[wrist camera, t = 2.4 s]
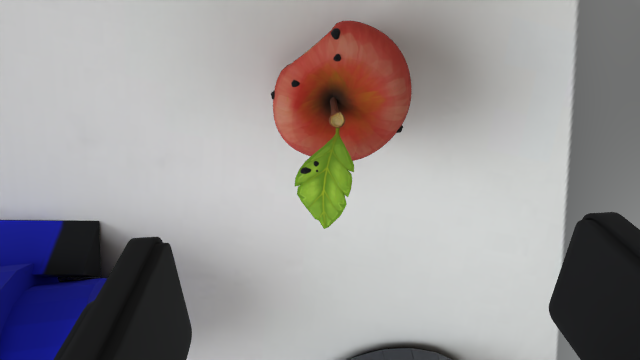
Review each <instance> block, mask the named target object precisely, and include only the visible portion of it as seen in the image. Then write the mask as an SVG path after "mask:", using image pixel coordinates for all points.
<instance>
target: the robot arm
mask: <svg viewBox="0 0 640 360" xmlns="http://www.w3.org/2000/svg"><path fill="white" fill-rule="evenodd" d="M549 312H550V315H551V318H552V320H553V321H554V323H555V324H556V326H557V327H558V328H559V330H560V331H561V332H562V334H563V335H564V337H565V338H566V340H567V341H568V342H569V344H570V345H571V347H572V348H573V349H574V351H575V352H576V353H577V355H578V356H579V358H580V359H581V360H640V230H639V229H638V228H636V227H635V226H634V225H633V224H632V223H630V222H629V221H628V220H627V219H625V218H624V217H623V216H621V215H620V214H618V213H614V212H607V213H590V214H587V215H585V216H584V217H583V219H582V220H581V221H579V222H578V223H577V224H576V227H575V229H574V232H573V235H572V238H571V241H570V244H569V247H568V250H567V253H566V256H565V259H564V262H563V265H562V268H561V271H560V274H559V277H558V280H557V283H556V285H555V288H554V291H553V294H552V297H551V300H550V303H549ZM191 337H192V329H191V324H190V320H189V316H188V312H187V308H186V304H185V300H184V296H183V293H182V289H181V285H180V281H179V277H178V273H177V269H176V265H175V261H174V257H173V254H172V250H171V246H170V244H169V243H162V240H161V239H160V238H159V237H147V238H133V239H131V240H130V241H129V242H128V244H127V246H126V247H125V249H124V251H123V252H122V254H121V256H120V258H119V259H118V261H117V263H116V264H115V266H114V268H113V270H112V271H111V273H110V275H109V276H108V278H107V280H106V282H105V283H104V285H103V287H102V288H101V290H100V292H99V294H98V295H97V297H96V299H95V301H92V302H90V303H89V304H87V306H86V307H85V308H84V310H83V311H82V313H81V314H80V316H79V318H78V319H77V321H76V323H75V324H74V326H73V328H72V329H71V331H70V333H69V334H68V336H67V338H66V339H65V341H64V343H63V344H62V346H61V348H60V349H59V351H58V353H57V354H56V356H55V358H54V359H53V360H186V359H187V355H188V351H189V347H190V344H191Z"/></svg>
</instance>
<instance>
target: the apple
mask: <svg viewBox="0 0 640 360" xmlns="http://www.w3.org/2000/svg"><path fill="white" fill-rule="evenodd" d="M271 96H272V99H274V100H273V113H274V119H275V123H276V126H277V129H278V131H279V133H280V134H281V136H282V138H283V139H284V140H285V141H286V142H287V143H288V144H289V145H290V146H291V147H292V148H294V149H295V150H297V151H299V152H301V153H303V154H306V155H308V156H311V157H310V158H309V159H308V160H307V161H306V162H305V163H304V164H303V165H302V167H301V168H300V169H299V171H298V174H297V176H296V179H295V186H299V185H300V186H299V187H298V191H297V194H298V196H299V198H300V200H301V201H302V203H303V204H304V205H305V207H306V208H307V209H308V210H309V212H310V213H311V214H312V215H313V217H314V218H315V219H317V220H319V221H320V223H321V225H322V226H323V228H324V229H325V228H327V227H329V226H330V225H331V224H332V223H333V222H334V221H335V220H336V219H337V218H339V217H340V215H341V214H342V212H343V210H344V208H345V206H346V200H345V195H346V196H347V197H348V196H349V193H350V190H351V185H352V176H351V173H350V172H349V171H352V172H354V164H353V162H352V161H354V160H358V159H361V158H364V157H366V156H368V155H370V154H372V153H374V152H376V151H377V150H379V149H380V148H381V147H383V146H384V145H385V144H386V143H387V142H388V141H389V140H390V139H391V138H392V137H393V136H394V135H395V134H396V133H398V132H401V131H402V128H403V126H402V123H403V122H404V120H405V118H406V115H407V113H408V110H409V106H410V101H411V79H410V73H409V69H408V65H407V63H406V61H405V58H404V56H403V55H402V53H401V51H400V50H399V48H398V47H397V46H396V44H395V43H394V42H393V41H392V40H391V39H390V38H389V37H388V36H386V35H385V34H384V33H382V32H381V31H379V30H377V29H376V28H374V27H371V26H369V25H366V24H363V23H360V22H355V21H341V22H339V23H336V25H335V26H334V27H333V28H332V30H331V31H330V32H329V33H328V34H327V35H326V36H324V37H323V38H322V39H321V40H320V41H319V42H318V43H316V44H315V45H314V46H313V47H312V48H311V49H309V50H308V51H307V52H306V53H304V54H303V55H302V56H301V57H300V58H298V59H297V60H295V61H294V62H293V63H291V64H289V65H287V66H286V67H285V68H284V69H283V70H282V71H281V73H280V75H279V77H278V79H277V82H276V86H275V90H274V91H273V92H272V93H271ZM348 170H349V171H348Z"/></svg>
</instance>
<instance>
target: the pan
mask: <svg viewBox="0 0 640 360" xmlns="http://www.w3.org/2000/svg"><path fill="white" fill-rule="evenodd" d="M350 360H452V359H450V358H448V357H445V356H443V355H441V354H439V353H437V352H432V351H426V350H420V349H415V348H394V349H383V350H378V351H373V352H370V353H366V354H363V355H360V356H356V357H354V358H352V359H350Z"/></svg>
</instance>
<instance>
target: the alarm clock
mask: <svg viewBox="0 0 640 360" xmlns="http://www.w3.org/2000/svg"><path fill="white" fill-rule="evenodd" d="M57 277H101V268H100V238H99V221H28V220H0V360H53V359H54V358H55V356H56V354H57V353H58V351H59V349H60V348H61V346H62V344H63V343H64V341H65V339H66V338H67V336H68V334H69V333H70V331H71V329H72V328H73V326H74V324H75V323H76V321H77V319H78V318H79V316H80V314H81V313H82V311H83V310H84V308H85V307H86V306H87V304H89V303H90V302H92V301H95V299H96V297H97V295H98V294H99V292H100V290H101V288H102V287H103V285H104V283H105V282H106V280H107V279H106V278H97V279H88V280H79V281H70V282H59V280H58V278H57Z"/></svg>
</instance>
